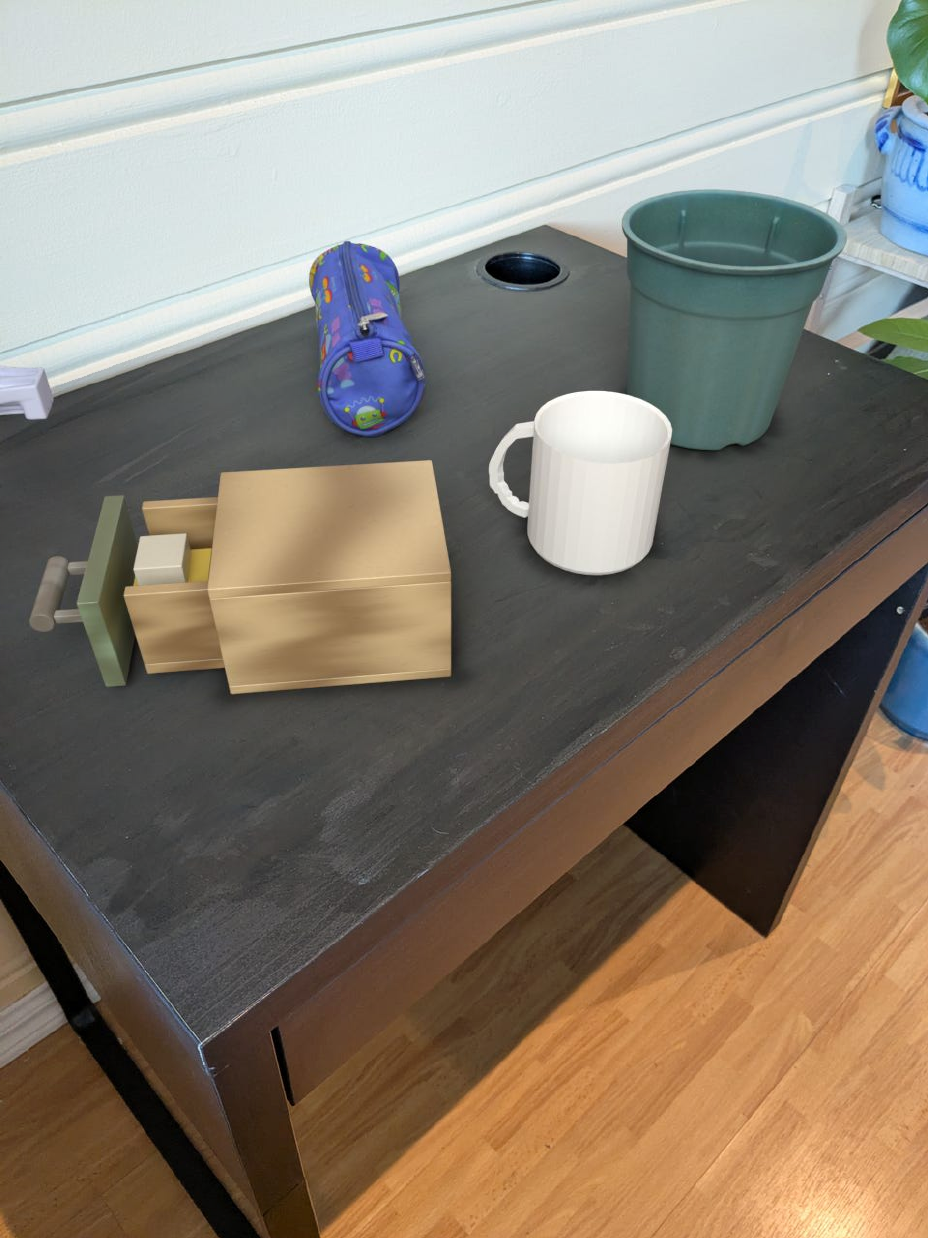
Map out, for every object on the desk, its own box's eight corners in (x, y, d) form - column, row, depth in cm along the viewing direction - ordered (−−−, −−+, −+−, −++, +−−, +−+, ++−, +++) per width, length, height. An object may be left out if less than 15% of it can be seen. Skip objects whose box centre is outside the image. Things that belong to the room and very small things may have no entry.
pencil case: (428, 441, 79) (427, 332, 72) (323, 449, 78) (312, 339, 71) (400, 321, 95) (396, 223, 88) (312, 327, 94) (302, 228, 87)
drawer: (37, 693, 57) (1, 608, 52) (68, 581, 64) (39, 499, 60) (315, 671, 58) (303, 587, 54) (314, 564, 66) (304, 483, 61)
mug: (670, 523, 71) (691, 412, 65) (623, 593, 65) (641, 478, 59) (525, 477, 75) (531, 368, 69) (468, 538, 69) (470, 426, 63)
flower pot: (562, 395, 85) (579, 207, 74) (707, 352, 91) (741, 174, 80) (681, 489, 74) (721, 287, 63) (835, 434, 80) (896, 241, 69)
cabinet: (230, 694, 58) (206, 589, 52) (240, 574, 66) (220, 471, 61) (451, 677, 59) (451, 572, 54) (433, 560, 68) (431, 459, 62)
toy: (143, 636, 59) (124, 574, 56) (151, 593, 62) (133, 532, 58) (216, 631, 59) (202, 568, 56) (220, 589, 62) (207, 527, 59)
